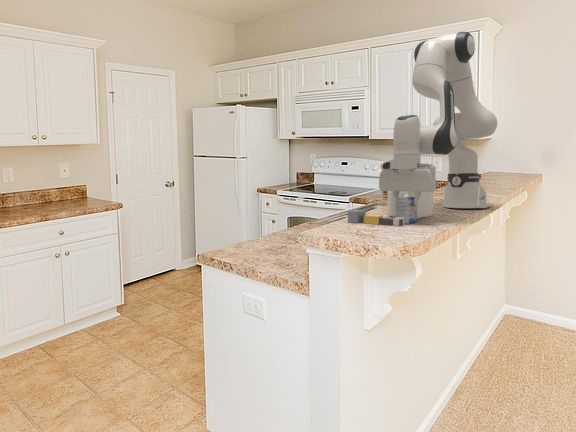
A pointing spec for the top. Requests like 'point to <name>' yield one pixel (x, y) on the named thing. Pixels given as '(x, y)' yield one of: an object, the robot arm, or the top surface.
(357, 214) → the grey block
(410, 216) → the medicine box
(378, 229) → the top surface
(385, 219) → the yellow and black bar
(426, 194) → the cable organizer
